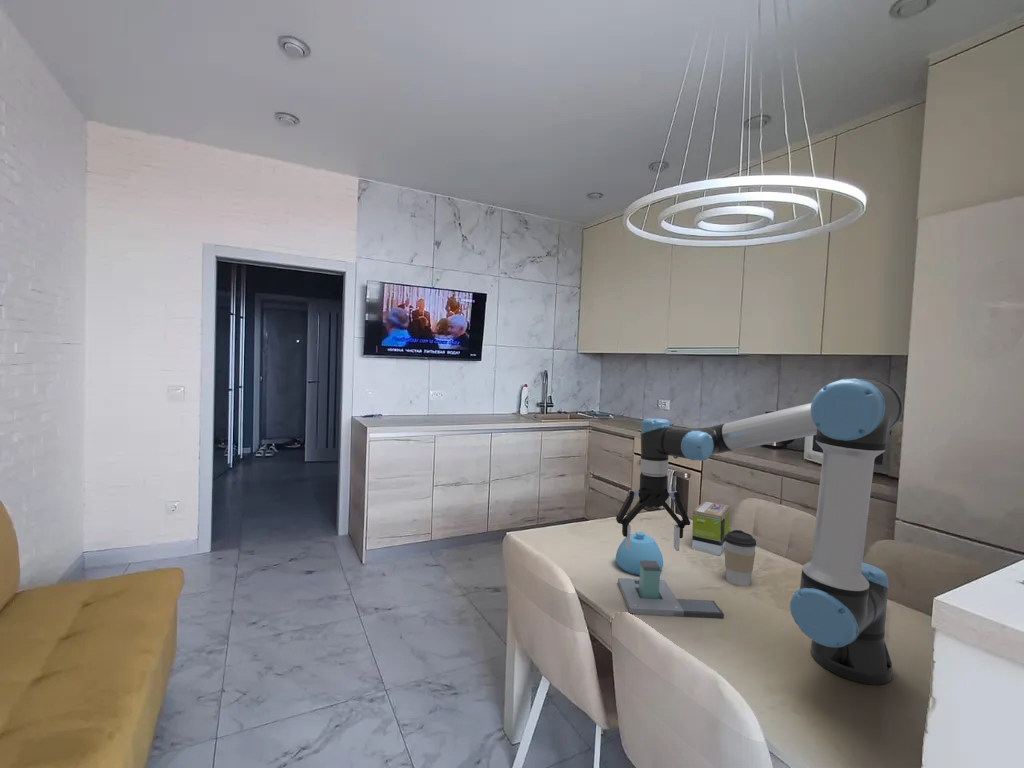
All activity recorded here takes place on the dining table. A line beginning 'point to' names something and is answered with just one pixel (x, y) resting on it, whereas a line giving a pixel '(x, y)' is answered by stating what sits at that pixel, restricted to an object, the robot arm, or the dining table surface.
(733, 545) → the coffee cup
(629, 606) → the outlet plate
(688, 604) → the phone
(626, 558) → the sugar bowl
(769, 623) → the dining table surface
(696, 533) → the tea box
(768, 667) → the dining table surface
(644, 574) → the charger block
